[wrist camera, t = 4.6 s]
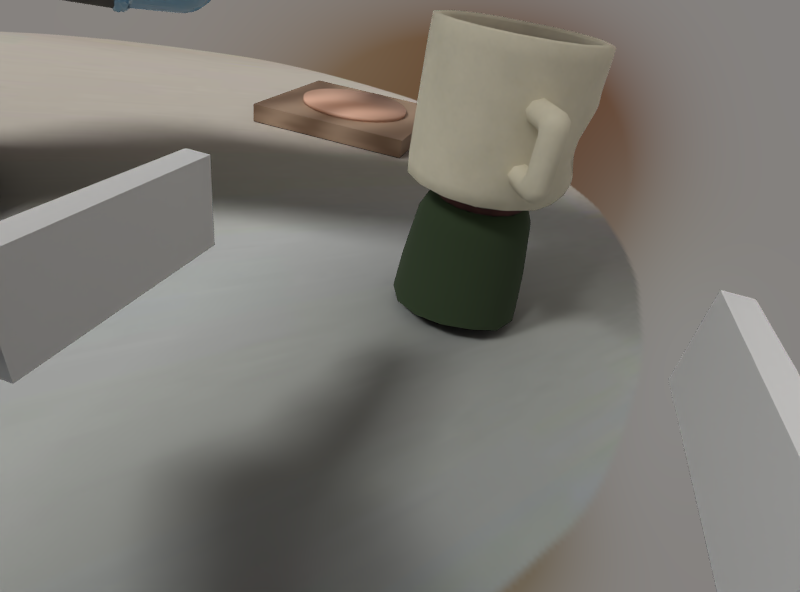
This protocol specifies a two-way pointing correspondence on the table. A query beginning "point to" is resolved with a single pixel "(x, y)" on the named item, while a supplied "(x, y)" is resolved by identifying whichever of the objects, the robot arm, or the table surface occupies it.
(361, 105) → the walnut board
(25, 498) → the table surface
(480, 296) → the character mug
